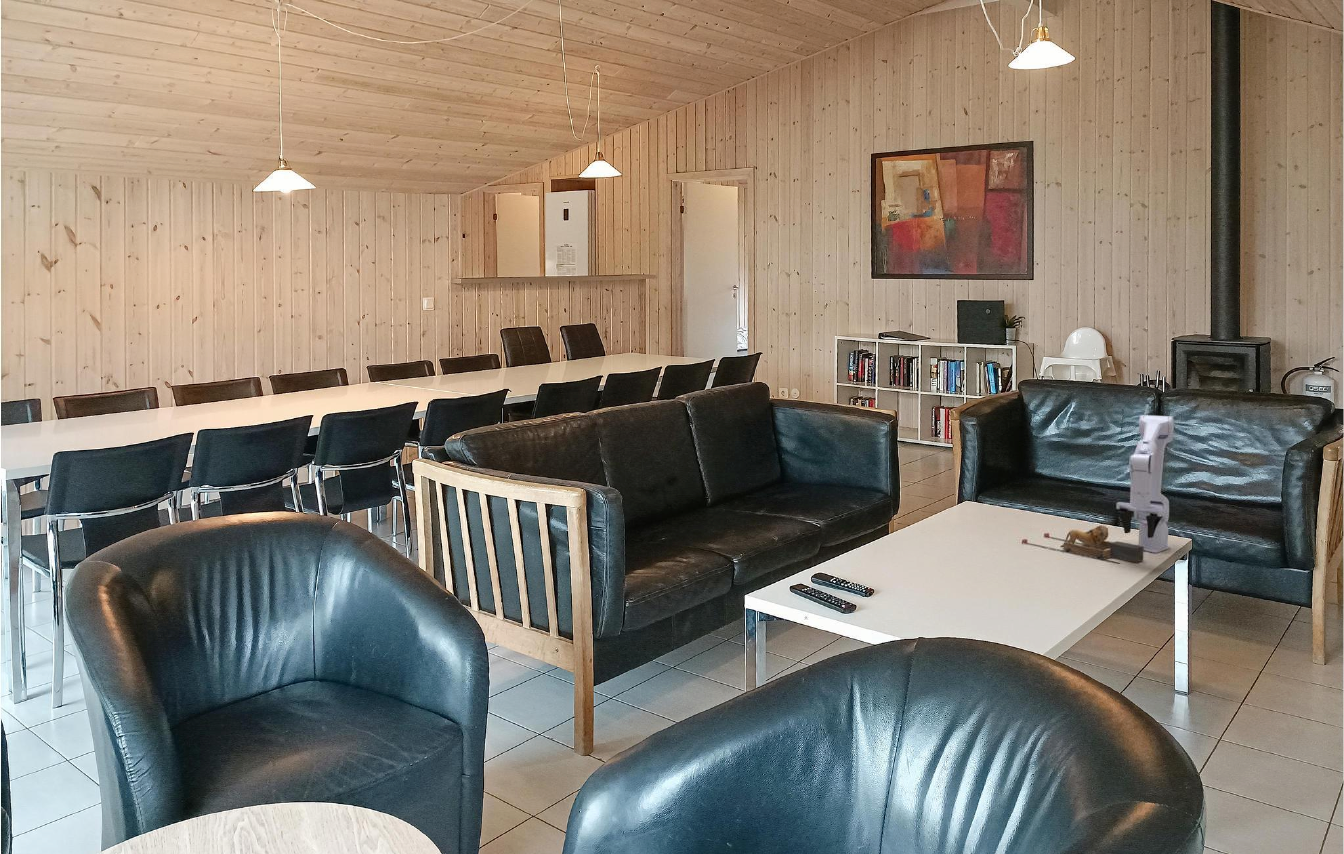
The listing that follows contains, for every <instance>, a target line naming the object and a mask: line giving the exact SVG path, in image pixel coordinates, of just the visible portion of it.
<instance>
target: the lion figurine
mask: <svg viewBox="0 0 1344 854" xmlns="http://www.w3.org/2000/svg"><path fill="white" fill-rule="evenodd" d="M1108 537H1109V527H1107V526H1105V525H1103V524H1101V525H1098V526H1096V527H1095V528H1092V529H1089V530H1088V531H1080V530H1078V529H1071V530H1069V531H1068V532H1067V534H1066V537H1065V539H1064V540H1065V541H1064V542H1067V543H1072V544H1076V543H1075V542H1077V540H1078V542H1079V543H1090V544H1091V548H1095V544H1101V543H1102V542H1103V541H1107V539H1108ZM1067 540H1068V541H1067ZM1059 547H1060V548H1063V544H1062V545H1060V546H1059Z"/></svg>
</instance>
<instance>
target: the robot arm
mask: <svg viewBox="0 0 1344 854" xmlns="http://www.w3.org/2000/svg"><path fill="white" fill-rule="evenodd" d="M1174 427H1175V419H1174V417H1173V416H1171V415H1170V416H1167V415H1149V414H1148V415H1147V414H1141V416H1139V419H1138V431H1139V434H1140V437H1141V439H1140V440H1138V443H1137V445H1136V448H1135V449H1134V450H1135V451H1134V453H1133V454H1131V455H1129V461H1128V464H1129V465H1128V468H1129V477H1130V493H1129V494H1130V496H1129V497H1130V498H1129V502H1123V501H1119V502H1116V510H1118V511H1117V516H1118V517H1119V518H1120V521H1121V525H1122V527H1123V530H1124V534H1130V533H1131V531H1132V530H1131V528H1132V519H1133V515H1134V519H1135V520H1136V521H1137V523H1139V524H1138V525H1139V526H1138V542H1137V543H1138V544H1137V545H1139V546H1144V550H1145V552H1149V553H1154V554H1157V553H1159V552H1163V551H1165V550H1166V551H1167V550H1169V549H1171V546H1168V544H1169V541H1168V540H1169V527H1168V525H1167V523H1168V521H1169V518H1170V501H1169V499H1168V498H1167V497H1166V496H1165V495H1164V494H1162V482H1163V480H1162V479H1163V468H1164V458H1165V457H1164V456H1165V449H1166V445H1167V444H1168V443H1171V442H1172V441H1173V438H1174V430H1175V429H1174ZM1133 513H1134V514H1133Z"/></svg>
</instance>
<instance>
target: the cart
mask: <svg viewBox="0 0 1344 854" xmlns="http://www.w3.org/2000/svg"><path fill="white" fill-rule="evenodd" d="M1081 543H1082V542H1081ZM1062 545H1063V547H1062V548H1063V551H1067V552H1073V553H1077V554H1082V555H1086V556H1091V557H1096V558H1098V559H1105V560H1107V559H1109V558H1113V559H1114V558H1115V559H1119V560H1123V561H1128V562H1133V563H1139V562H1141V561H1144V551H1143V550H1144V546H1139V545H1138V544H1133V543H1128V542H1124V541H1117V540H1116V541H1108V540H1104V541H1103V542H1102V543H1101V544H1095V547H1096V548H1091V547H1090V546H1091V544H1090V543H1082V545H1081V544H1076V543H1074V544H1072V543H1067V542H1065V541H1063V544H1062ZM1100 548H1101V549H1100ZM1098 559H1097V560H1098Z"/></svg>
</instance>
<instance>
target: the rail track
mask: <svg viewBox="0 0 1344 854" xmlns="http://www.w3.org/2000/svg"><path fill="white" fill-rule="evenodd" d="M1043 537H1044V538H1048V539H1053V540H1057V541H1063V542H1065V540H1066V539H1065V538H1064V539H1063V538H1057V537H1053V536H1050V533H1049V532H1046V533H1045V532H1044V533H1043ZM1068 540H1069V539H1068ZM1068 540H1067V541H1068ZM1023 543H1024V544H1025V545H1030V546H1033V547H1038V546H1039V548H1043V549H1047V548H1049V549H1048V550H1053V551H1056V550H1057V551H1058V552H1062V553H1066V554H1070V555H1075V556H1080V557H1084V558H1089V559H1094V560H1099V561H1102V562H1107V563H1113V564H1117V565H1119V564H1121V562H1118V561H1113V560H1110V559H1108V560H1107V559H1101V558H1100V559H1098V558H1096V557H1092V556H1087V555H1082V554H1078V553H1073V552H1067V551H1064V550H1062V549H1059V548H1053V547H1049V546H1044V545H1043V546H1042V545H1040V544H1035V543H1030V542H1028V539H1026V538H1024V539H1022V540H1021V544H1023ZM1024 544H1023V545H1024ZM1074 544H1077V545H1081V546H1083V545H1082V542H1079V541H1078V542H1077V541H1075V543H1074ZM1089 547H1091V546H1089ZM1095 548H1096V547H1095ZM1096 549H1097V548H1096ZM1099 549H1100V550H1102V549H1101V548H1099Z"/></svg>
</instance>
